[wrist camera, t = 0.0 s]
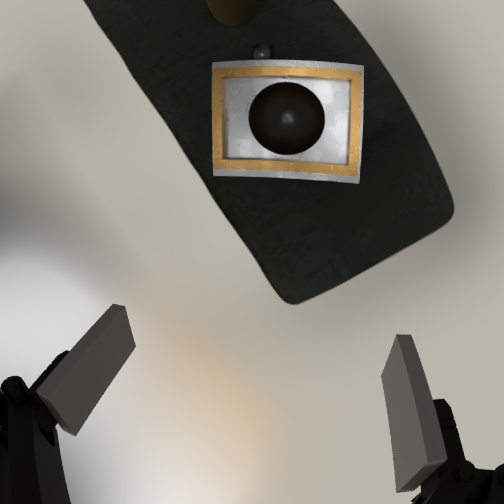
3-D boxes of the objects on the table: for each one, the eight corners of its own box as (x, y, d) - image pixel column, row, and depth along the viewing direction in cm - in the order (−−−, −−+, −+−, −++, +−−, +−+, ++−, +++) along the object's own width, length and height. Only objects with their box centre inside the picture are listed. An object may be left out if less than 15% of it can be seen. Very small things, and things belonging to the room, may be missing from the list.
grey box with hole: (226, 53, 32) (208, 40, 25) (354, 56, 30) (365, 42, 23) (226, 167, 39) (209, 178, 32) (351, 174, 36) (361, 186, 29)
